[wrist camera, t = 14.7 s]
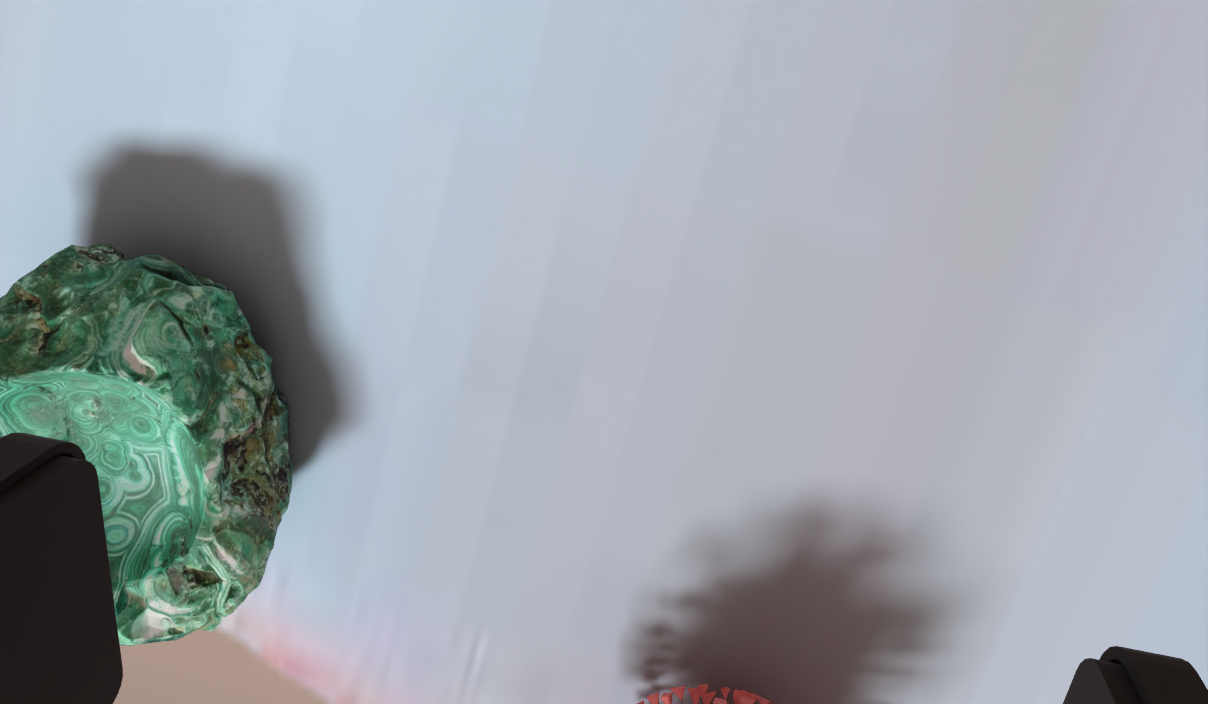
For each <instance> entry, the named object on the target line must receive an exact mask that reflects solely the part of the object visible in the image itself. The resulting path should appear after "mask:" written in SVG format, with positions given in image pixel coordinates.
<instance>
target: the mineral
mask: <svg viewBox="0 0 1208 704" xmlns="http://www.w3.org/2000/svg"><path fill="white" fill-rule="evenodd" d="M123 258H124V254H122V253H120V252H119V251H117V250H116V249H115V248H114V247H113V246H112V245H111V243H106V242H105V243H99V244H96V245H93V246H90V247H87V248H86V247H80V246H75V245H71V246H69V247H67V248H65V249H63V250H62V251H60V252H58V253H56V254H54V255H53V256H52V257H50V258H49V259H47V260H46V261H44V262H43V263H42V264H41V265H39V266H38V267H37V268H36V269H35V270H33V271H31V272H30V273H28V274H26V275H25V276H23V277H22V278H20V279H19V280H17V282H16V283H14V284H13V285H12V287H11V288H10V290H9V291H8V293H7V294H6V295H4V296H2V297H1V298H0V438H1V437H3V436H6V435H8V434H10V433H27V434H32V435H37V436H42V437H47V438H52V439H57V440H63V441H68V442H72V443H74V444H76V445H78V446H79V447H80V448H81V450H82V451H83V452H84V454H85V458H86V461H89V462H91V463H92V464H93V465H94V467H95V468H96V471H97V475H98V481H99V489H100V496H101V504H102V512H103V520H104V528H105V535H106V543H107V551H108V559H109V567H110V575H111V582H112V590H113V598H114V606H115V614H116V621H117V629H118V637H119V642H120V645H127V646H133V645H139V644H145V643H152V642H160V641H171V640H177V639H179V638H181V637H183V636H185V635H187V634H190V633H192V632H194V631H196V630H206V631H214V630H215V629H216V628H217V627H218V625H219V624H220V623H221V621H222V620H223V618H224V617H226V616H228V615H229V614H231V613H233V612H234V610H235V609H236V608H237V607H238V606H239V605H240V604H241V603H242V602H243V601H244V600H245V598H246V597H247V595H248V594H249V593H251V592H252V591H253V590H254V589H256V588H257V587H258V586H259V584H260V582H261V579H262V577H263V575H264V572H265V568H266V564H267V560H268V558H269V555H270V553H271V550H272V549H273V545H274V540H275V536H276V532H277V527H278V526H279V524H280V522H281V520H282V519H281V516H282V515H283V514H284V513H285V512H286V510H287V508H288V504H289V497H290V493H291V486H292V474H293V463H292V461H291V459H290V457H289V455H288V437H289V434H288V430H289V428H288V427H289V421H288V417H289V408H288V404H287V402H286V400H285V397H284V396H283V395H281V394H279V391H278V388H277V387H276V386H274V381H273V378H272V374H271V363H272V361H273V357H272V356H268V354H267V353H266V351H265V350H263V349H262V348H261V347H259V346H258V345H257V344H256V343H255V341H254V338H253V336H252V335H251V333H250V330H251V327H250V325H249V324H248V322H247V320H246V318H245V317H244V315H243V313H242V311H241V309H240V307H239V305H238V303H237V301H236V299H235V297H234V294H233V291H228V290H227V288H226V285H223V284H220V283H214V282H213V281H212V280H210V279H209V278H207V277H205V276H197V275H193V274H192V273H191V272H190V271H189V270H187V269H186V268H185V267H183V266H181V265H178V264H176V262H175V261H174V260H172V259H169V258H168V257H167V258H165V257H163V256H160V255H158V254H153V255H142V256H140V257H137V258H135V259H132V260H128V259H123Z"/></svg>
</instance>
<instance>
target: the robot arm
mask: <svg viewBox="0 0 1208 704" xmlns="http://www.w3.org/2000/svg"><path fill="white" fill-rule="evenodd" d="M122 670H123V669H122V661H121V653H120V645H119V637H118V629H117V621H116V614H115V606H114V598H113V590H112V582H111V575H110V567H109V559H108V551H107V543H106V535H105V528H104V520H103V512H102V504H101V496H100V489H99V481H98V475H97V471H96V468H95V467H94V465H93V464H92V463H91V462H89V461H86V458H85V454H84V452H83V451H82V450H81V448H80V447H79V446H78V445H76V444H74V443H72V442H68V441H63V440H57V439H52V438H47V437H42V436H37V435H32V434H27V433H10V434H8V435H6V436H3V437H1V438H0V704H113V702H114V700H115V698H116V696H117V694H118V692H119V689H120V686H121V682H122V677H123V675H122V674H123V672H122ZM1063 704H1208V690H1207V688H1206V687H1205V685H1204V683H1203V681H1202V680H1201V678H1200V676H1199V675H1198V673H1197V671H1196V670H1195V669H1194V668H1193V667H1192V665H1191V664H1190V663H1189V662H1187V661H1185V660H1183V659H1180V658H1175V657H1170V656H1165V655H1159V654H1154V653H1149V652H1144V651H1139V650H1134V649H1129V648H1124V647H1118V646H1115V647H1109V648H1108V649H1107V650H1106V651H1105V652H1104V653H1103V654H1102V656H1101V658H1100V660H1096V659H1091V658H1089V659H1085V660H1084V661H1082V662H1081V663H1080V665H1079V667H1078V669H1077V670H1076V673H1075V675H1074V678H1073V680H1072V683H1071V685H1070V688H1069V690H1068V693H1067V695H1066V698H1065V700H1064V702H1063Z"/></svg>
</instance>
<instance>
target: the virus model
mask: <svg viewBox="0 0 1208 704" xmlns="http://www.w3.org/2000/svg"><path fill="white" fill-rule="evenodd" d="M708 686H709V685H707V684H706V685H697V687H698V688H688V690H689V693H690V695H691V698H692V701H693V704H698V703H699V698H700V696H701V697H702V699H703V704H704V702H705V704H710V703H711V701H712V699H713V697H714V695H715V693H716V691H714V692H706V690H707V688H708ZM685 687H686V686H680V687H674V688H669V689H671V690H672V691H673V692H674V693H675V694H676V695H677V696H678V697H679V698H680V699H681V700H682V699H683V694H684V690H685ZM730 690H731V689H730V688H727V687H725V688H721V691H722V693H723V696H724V698H725V700H724V699H720V698H716V697H715V699H714V702H713V703H714V704H727V701H726V698H727V696H728V694H729V692H730ZM672 695H673V693H663V695H662V696H661V699H662V701H663V703H664V704H671V703H672ZM647 698H648V700H649V702H650V703H651V704H659V693H655V694H652V695H649V696H647ZM733 699H734V703H735V704H753V703H754V702H755V701H756V700H757V699H759V703H760V704H767V703H769V702H770V701H769V700H766V699H764V698H762V697H760V696H758V695H755V694H753V693H750V692H746V691H745V690H739V691H738V690H736V689H735V690H734V694H733ZM637 704H644V700H643V701H641V702H639V703H637ZM682 704H683V702H682ZM769 704H772V703H769Z"/></svg>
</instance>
